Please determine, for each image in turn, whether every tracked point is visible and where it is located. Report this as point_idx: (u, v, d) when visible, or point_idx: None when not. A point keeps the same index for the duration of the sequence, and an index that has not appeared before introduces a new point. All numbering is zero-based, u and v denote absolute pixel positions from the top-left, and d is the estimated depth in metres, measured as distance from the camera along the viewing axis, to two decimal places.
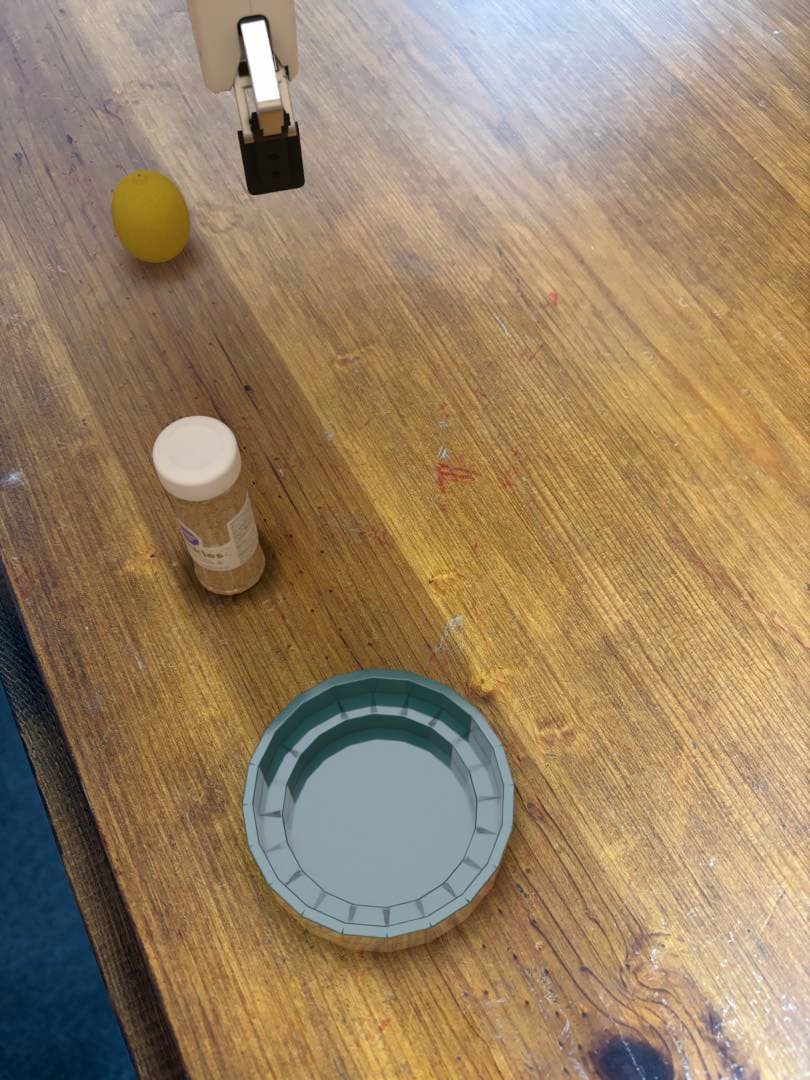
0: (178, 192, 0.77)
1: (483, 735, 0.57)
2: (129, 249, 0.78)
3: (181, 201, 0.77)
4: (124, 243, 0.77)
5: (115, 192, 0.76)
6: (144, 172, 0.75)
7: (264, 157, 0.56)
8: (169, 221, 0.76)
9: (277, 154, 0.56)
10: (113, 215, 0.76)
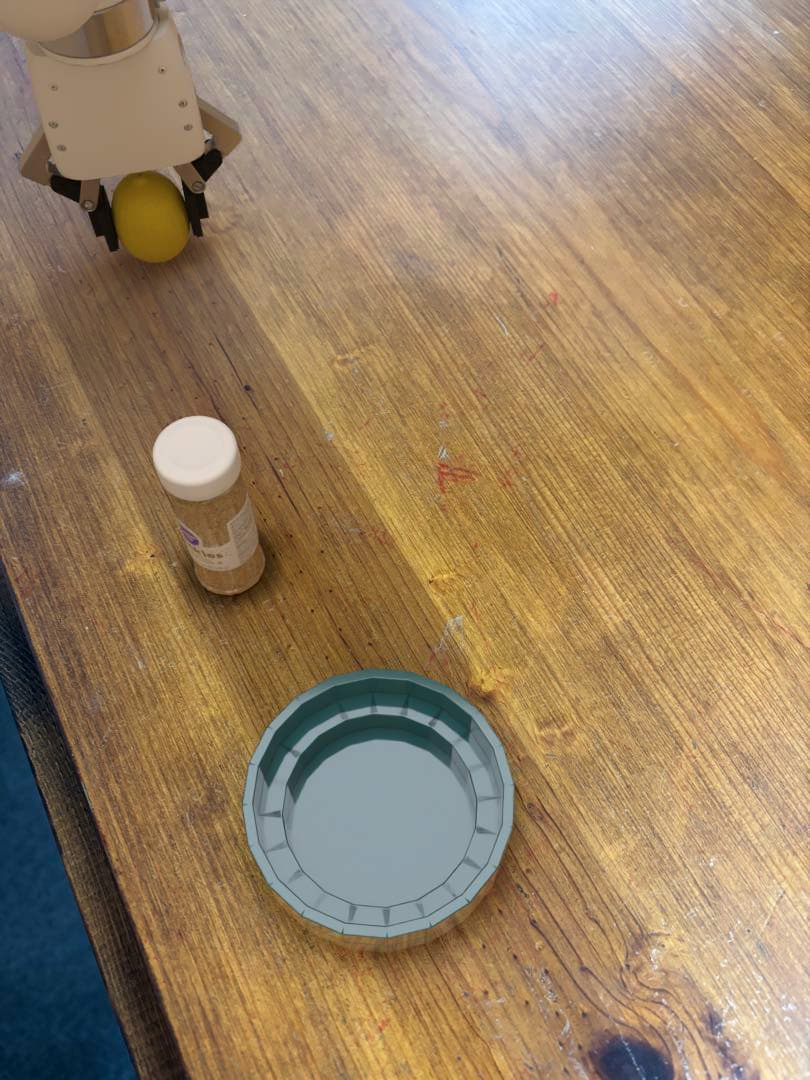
0: (178, 192, 0.77)
1: (483, 735, 0.57)
2: (129, 249, 0.78)
3: (181, 201, 0.77)
4: (124, 243, 0.77)
5: (115, 192, 0.76)
6: (144, 172, 0.75)
7: None
8: (169, 221, 0.76)
9: None
10: (113, 215, 0.76)
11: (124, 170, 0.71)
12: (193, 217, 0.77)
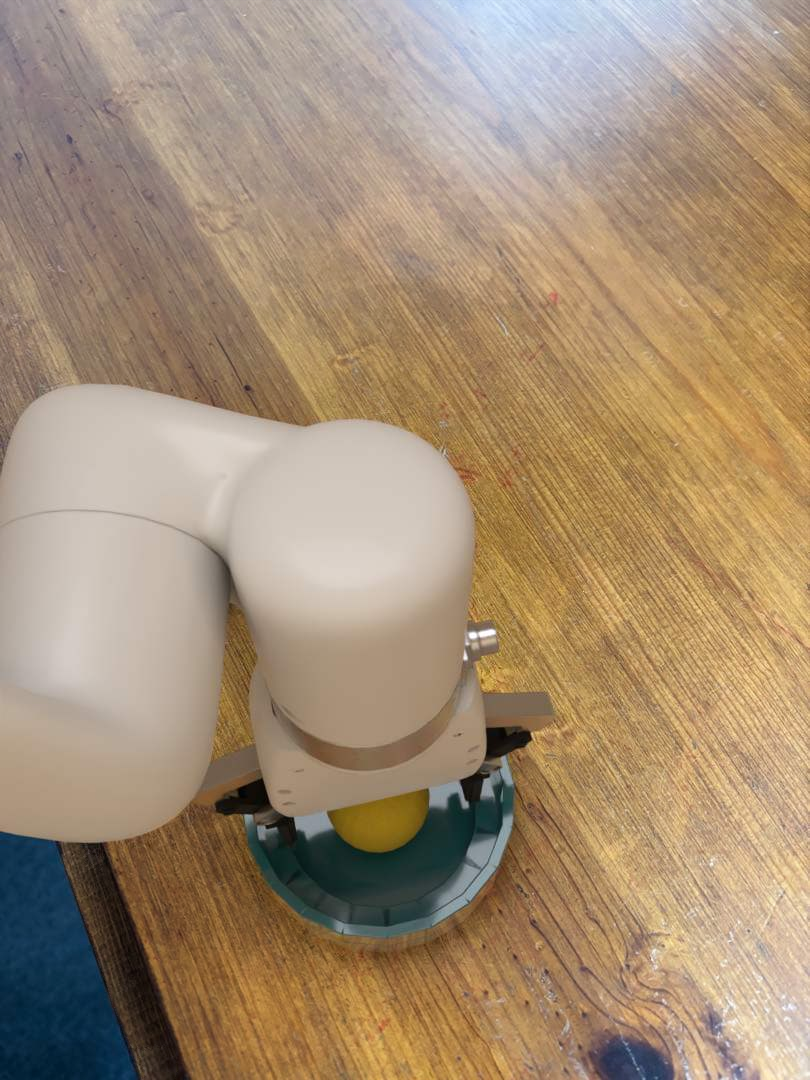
0: None
1: None
2: (348, 842, 0.56)
3: None
4: (342, 837, 0.55)
5: None
6: None
7: None
8: (411, 823, 0.54)
9: None
10: (331, 811, 0.54)
11: (368, 801, 0.49)
12: (473, 792, 0.54)
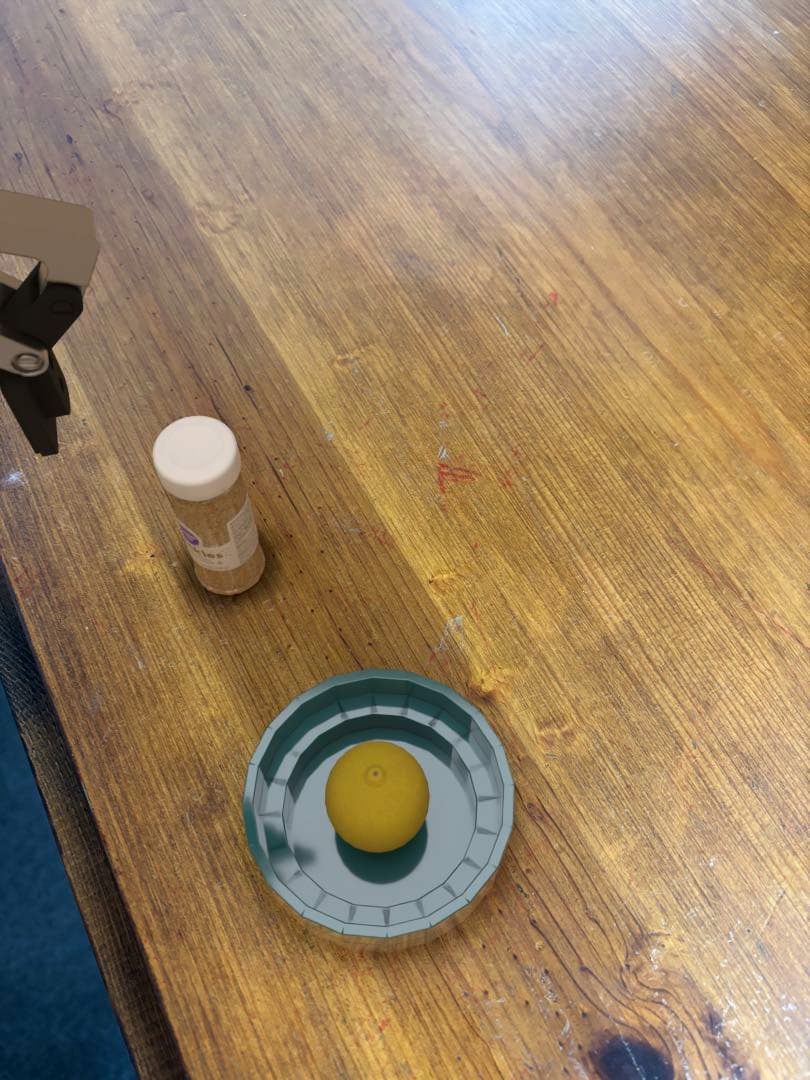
0: (421, 775, 0.55)
1: (483, 735, 0.57)
2: (348, 842, 0.56)
3: (425, 788, 0.55)
4: (342, 837, 0.55)
5: (337, 786, 0.54)
6: (378, 760, 0.53)
7: None
8: (411, 823, 0.54)
9: None
10: (331, 811, 0.54)
11: None
12: (28, 422, 0.34)
